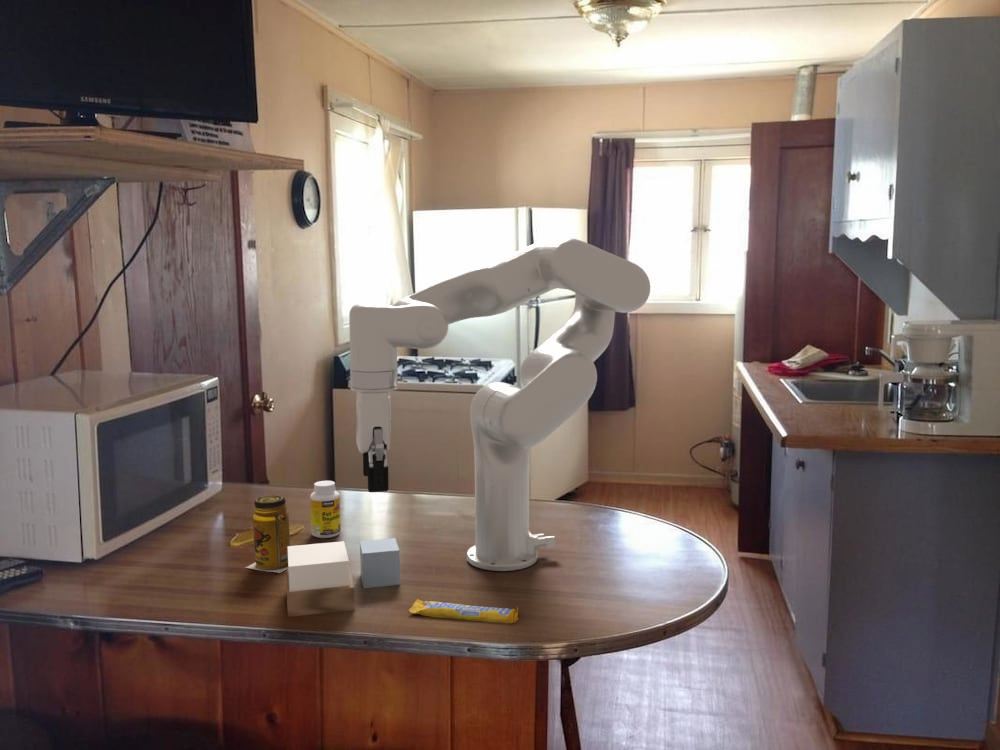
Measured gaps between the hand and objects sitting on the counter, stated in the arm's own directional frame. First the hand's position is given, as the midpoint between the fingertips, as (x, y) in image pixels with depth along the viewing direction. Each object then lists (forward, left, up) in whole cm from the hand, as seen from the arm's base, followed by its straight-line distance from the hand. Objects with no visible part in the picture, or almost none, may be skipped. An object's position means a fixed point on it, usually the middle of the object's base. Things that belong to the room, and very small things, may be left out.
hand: (375, 483), depth 141 cm
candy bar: (-12, +17, -17) cm, 27 cm away
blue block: (0, 0, -17) cm, 17 cm away
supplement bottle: (+8, -25, -17) cm, 31 cm away
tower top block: (+10, +6, -13) cm, 17 cm away
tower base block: (+10, +6, -17) cm, 21 cm away
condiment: (+17, -12, -17) cm, 27 cm away
